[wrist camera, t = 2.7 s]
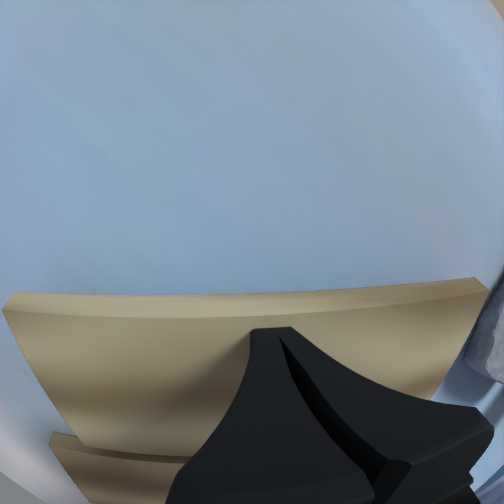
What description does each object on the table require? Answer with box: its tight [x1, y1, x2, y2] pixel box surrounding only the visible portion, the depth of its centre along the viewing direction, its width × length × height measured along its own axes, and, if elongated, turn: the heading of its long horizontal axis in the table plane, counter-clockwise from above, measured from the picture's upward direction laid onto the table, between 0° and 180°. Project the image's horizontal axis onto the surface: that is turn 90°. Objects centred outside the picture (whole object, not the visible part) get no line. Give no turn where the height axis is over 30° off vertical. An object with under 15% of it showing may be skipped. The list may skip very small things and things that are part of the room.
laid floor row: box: [48, 432, 192, 504], centre depth 15 cm, size 8×26×1 cm, turn 89°
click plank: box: [2, 277, 490, 456], centre depth 12 cm, size 10×20×1 cm, turn 90°
